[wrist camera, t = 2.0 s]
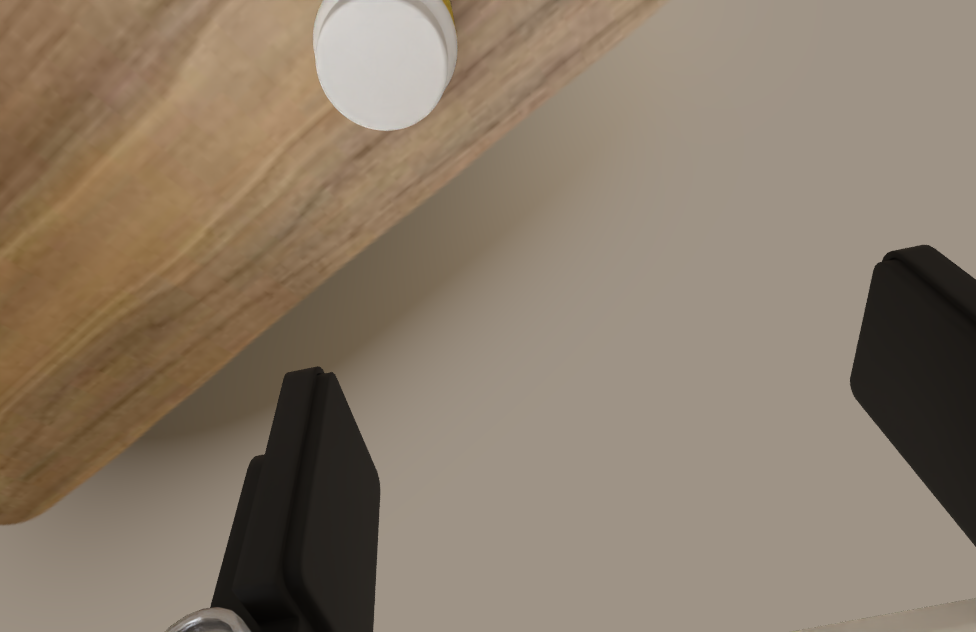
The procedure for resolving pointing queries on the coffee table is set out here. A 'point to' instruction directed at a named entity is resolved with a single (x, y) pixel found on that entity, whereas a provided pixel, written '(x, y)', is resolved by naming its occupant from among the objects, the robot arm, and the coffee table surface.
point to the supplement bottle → (385, 58)
